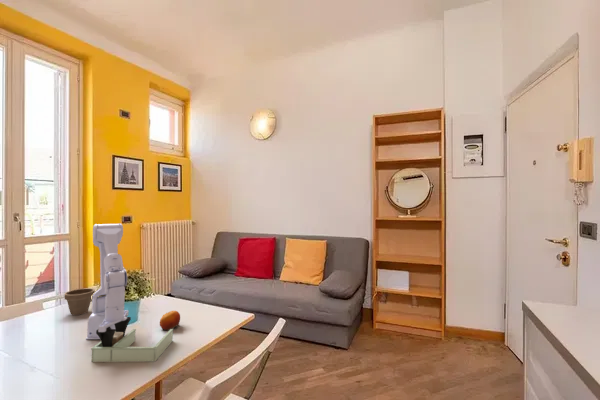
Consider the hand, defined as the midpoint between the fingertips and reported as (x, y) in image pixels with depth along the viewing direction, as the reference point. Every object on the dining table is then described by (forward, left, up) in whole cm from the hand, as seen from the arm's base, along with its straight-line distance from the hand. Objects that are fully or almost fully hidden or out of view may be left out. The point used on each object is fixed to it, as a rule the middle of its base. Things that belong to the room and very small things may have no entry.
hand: (113, 343), depth 102 cm
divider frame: (+7, +1, -3) cm, 8 cm away
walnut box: (0, 0, -3) cm, 3 cm away
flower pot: (-37, +37, -3) cm, 53 cm away
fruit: (+12, +20, -3) cm, 23 cm away
